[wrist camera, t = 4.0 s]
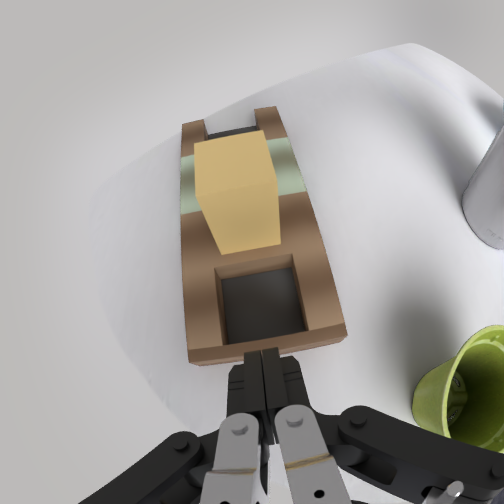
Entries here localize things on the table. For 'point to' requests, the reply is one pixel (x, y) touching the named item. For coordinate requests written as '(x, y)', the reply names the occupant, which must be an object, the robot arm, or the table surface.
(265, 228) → the ochre block
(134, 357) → the table surface
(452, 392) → the plant pot
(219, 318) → the box
